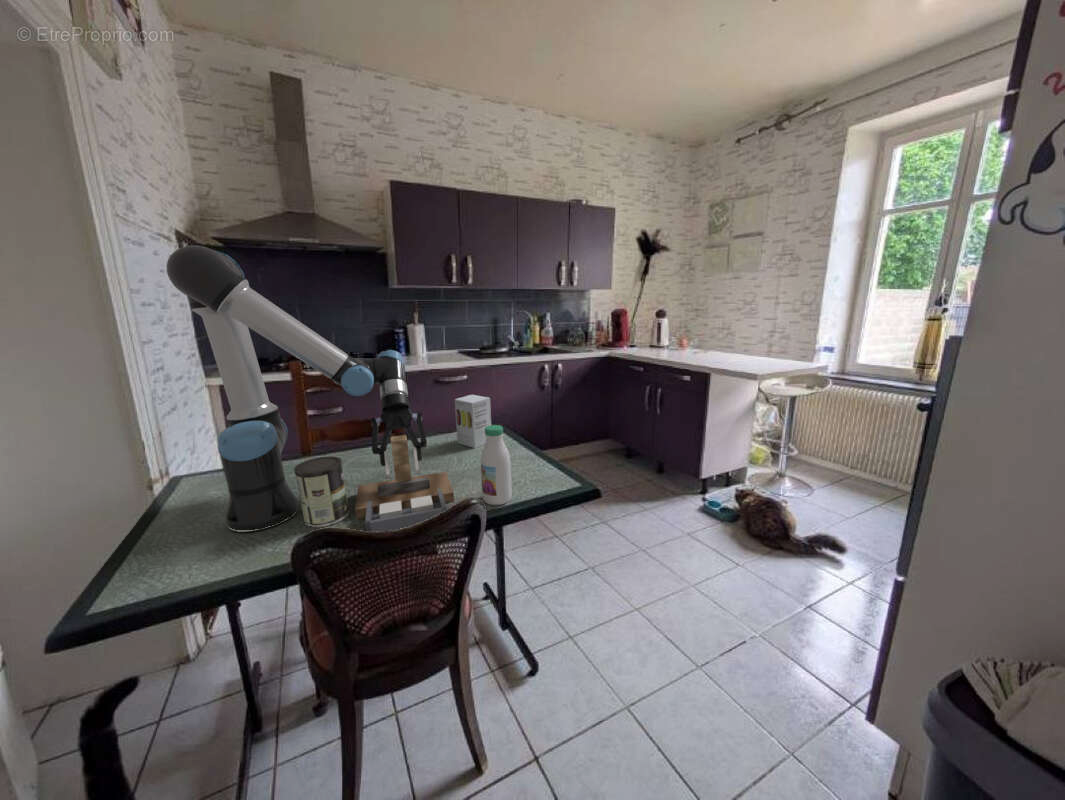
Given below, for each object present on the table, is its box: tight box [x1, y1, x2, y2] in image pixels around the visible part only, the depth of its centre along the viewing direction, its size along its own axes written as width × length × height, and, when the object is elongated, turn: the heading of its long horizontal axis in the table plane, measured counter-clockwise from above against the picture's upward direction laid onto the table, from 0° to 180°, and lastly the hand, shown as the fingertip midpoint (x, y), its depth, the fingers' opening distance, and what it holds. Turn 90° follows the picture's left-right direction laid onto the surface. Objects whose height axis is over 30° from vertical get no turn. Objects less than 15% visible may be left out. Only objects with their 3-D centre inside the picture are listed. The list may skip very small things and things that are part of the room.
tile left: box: [379, 501, 403, 519], centre depth 99 cm, size 5×5×3 cm
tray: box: [364, 489, 448, 531], centre depth 99 cm, size 18×11×4 cm, turn 109°
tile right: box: [411, 495, 433, 513], centre depth 101 cm, size 5×5×3 cm
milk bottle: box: [480, 424, 513, 506], centre depth 106 cm, size 8×8×20 cm
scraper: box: [378, 434, 430, 497], centre depth 109 cm, size 13×6×14 cm, turn 109°
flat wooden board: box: [354, 471, 455, 520], centre depth 111 cm, size 24×14×2 cm, turn 109°
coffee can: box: [293, 456, 350, 528], centre depth 101 cm, size 10×10×14 cm
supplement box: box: [454, 394, 492, 449], centre depth 149 cm, size 10×9×17 cm
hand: (402, 474), depth 106 cm, fingers open, 7 cm apart
